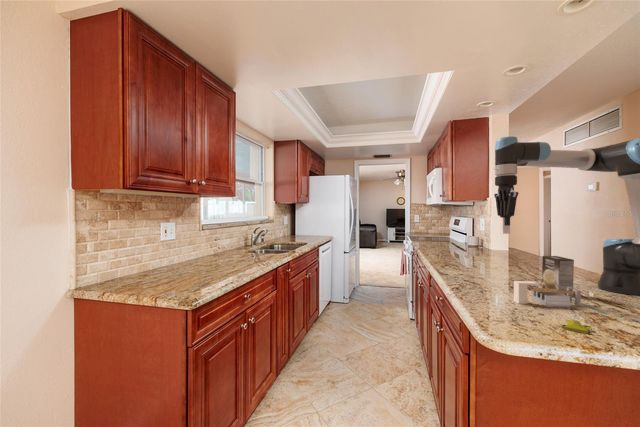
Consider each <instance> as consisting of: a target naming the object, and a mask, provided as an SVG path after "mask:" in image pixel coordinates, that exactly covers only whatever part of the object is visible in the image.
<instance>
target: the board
mask: <svg viewBox="0 0 640 427" xmlns="http://www.w3.org/2000/svg"><path fill="white" fill-rule="evenodd" d="M567 290H572V288H571V287H567ZM574 291H575V294H574V299H573V296H572V294H569V293H567V296H570V302H571V304H572V303H574V306H576V307H581V306H583V307H585V308H587V309H591V310H593V311H596V312H597V313H600V314H603V315H604V314H606V315H607V314H608V315H609V314H610V313H609V312H608V311H607V312H606V311H604V310H602V309H600V308H597V307H594V306H591V305H589V304H586V303H584V302H582V301H581V290H580V289H579V290H578V289H577V290H576V289H575V290H574Z"/></svg>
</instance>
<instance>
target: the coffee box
mask: <svg viewBox="0 0 640 427" xmlns="http://www.w3.org/2000/svg"><path fill="white" fill-rule="evenodd" d="M541 257H542V261H541V264H542V265H541V266H542V267H541V268H542V269H541V270H542V271H541V288H546V289H558V290H567V287H571V288H572V290H573V291H574V269H575V268H574V267H575V264H574V262H575V260H574V259H572V258H567V257H563V256H559V255H542V256H541ZM560 294H565V295H566V296H567V293H560ZM573 296H574V294H572V297H573Z"/></svg>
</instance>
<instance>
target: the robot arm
mask: <svg viewBox="0 0 640 427" xmlns="http://www.w3.org/2000/svg"><path fill="white" fill-rule="evenodd" d="M494 155H495V156H494V161H495V162H494V165H495V166H494V167H495V168H494V175H495V177H494V186H496V187H498V189H497V193H494V199H495V203H496V205H495V206H496V212H497V216H498V217H500V234H503V235H505V234H506V235H507V234H509V235H510V234H511V218H512V217H514V216H515V214H516V213H515V212H516V206H517V199H518V197H519V196H518V195H519V191H515V187H514V186H516V185H518V176H517V174H518V167H533V168H534V167H537V168H538V167H539V168H540V167H541V168H542V167H543V168H566V169H567V168H570V169H578V170H579V171H588V172H604V173H613V172H614V173H617V177H618V178H620V179H623V180H624V183H625V184H624V185H625V188H626V193H627V194H626V195H627V198H628V204H629V208H630V213H631V217H632V222H633V227H634V230H635V238H611V239H610V238H607V239H605V240H604V241H603V246H602V262H603V263H602V264H603V265H602V267H603V268H602V269H603V270H602V272H601V276H600V277H599V280H598V281H597V288H598V289H599V290H604V291H606V292H610V293H611V292H612V293H615V294H616V293H617V294H623V295H629V296H630V295H631V296H633V295H634V296H640V138H633V139H630V140H626V141H623V142H619V143H615V144H609V145H604V146H601V147H596V148H595V147H594V148H584V149H582V150H568V149H567V150H566V149H565V150H564V149H552V148H551V145H550V144H549V143H548V142H544V141H530V142H529V141H526V142H524V141H523V142H522V141H519V140H518V137H517V136H513V135H511V136H502V137H499V138H498V139H496V140H495V146H494Z"/></svg>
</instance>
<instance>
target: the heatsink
mask: <svg viewBox="0 0 640 427" xmlns="http://www.w3.org/2000/svg"><path fill="white" fill-rule="evenodd" d="M531 293H532V294H531V300H532V301H533V302H535V303H537V304H540V305H542V306H544V307H546V308H571V306H572V305H571V304H572V303H571V302H570V296H566V295H565V294H560V293H557V292H545V291H531Z"/></svg>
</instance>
